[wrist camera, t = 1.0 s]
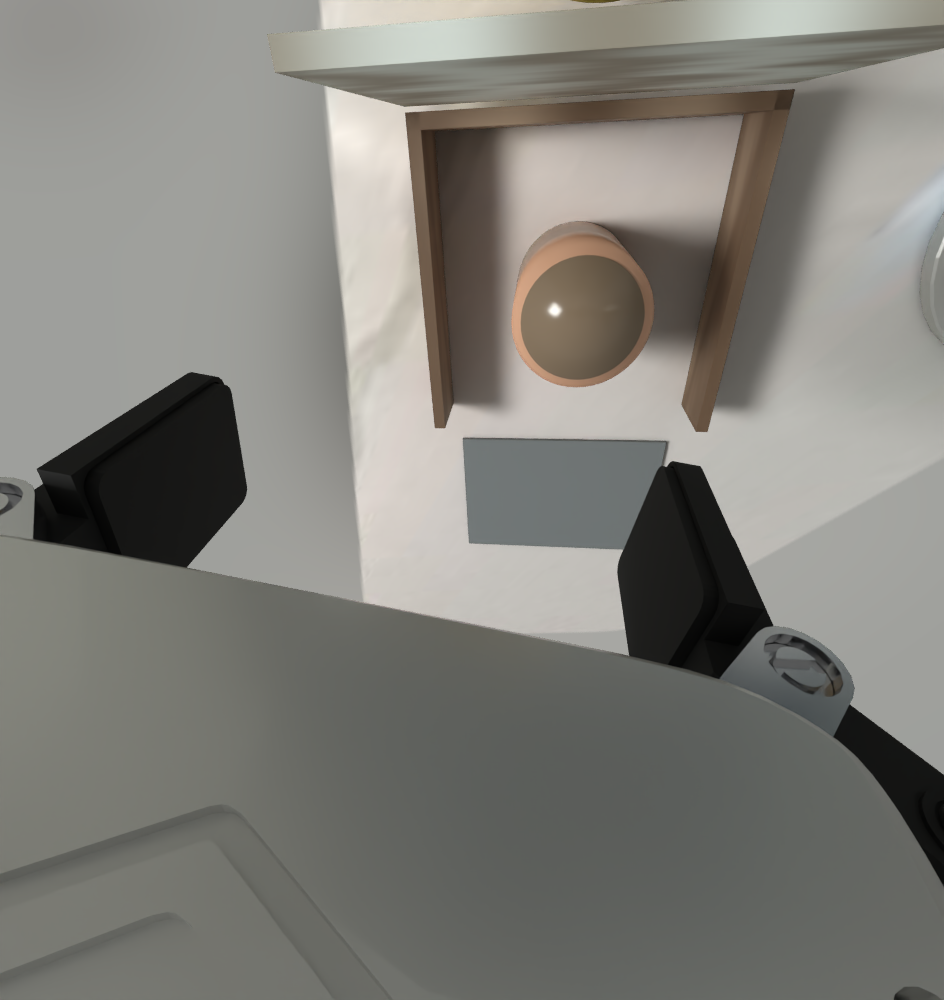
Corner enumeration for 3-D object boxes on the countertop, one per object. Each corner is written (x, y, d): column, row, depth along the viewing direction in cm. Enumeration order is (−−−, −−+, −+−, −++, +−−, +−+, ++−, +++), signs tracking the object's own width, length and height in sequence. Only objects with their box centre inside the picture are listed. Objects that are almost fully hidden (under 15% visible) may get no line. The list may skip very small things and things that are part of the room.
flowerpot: (637, 219, 25) (666, 242, 19) (622, 338, 29) (642, 388, 23) (518, 223, 26) (511, 246, 20) (516, 339, 29) (511, 387, 24)
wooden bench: (767, 72, 21) (1111, -35, 9) (691, 404, 30) (804, 599, 17) (419, 94, 23) (267, 34, 10) (444, 403, 32) (378, 579, 19)
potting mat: (665, 441, 32) (666, 442, 32) (643, 548, 37) (643, 550, 37) (463, 437, 33) (462, 439, 33) (469, 541, 39) (469, 543, 38)
